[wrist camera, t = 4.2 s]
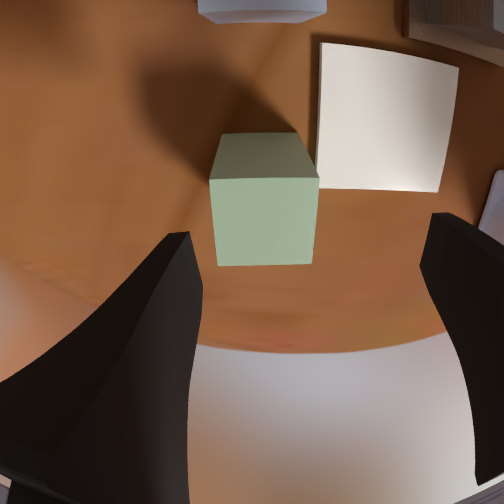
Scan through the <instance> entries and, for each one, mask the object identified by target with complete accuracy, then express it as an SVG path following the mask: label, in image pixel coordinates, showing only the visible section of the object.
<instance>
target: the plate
mask: <svg viewBox="0 0 504 504" xmlns="http://www.w3.org/2000/svg"><path fill="white" fill-rule="evenodd" d="M458 73H459V68H458V67H455V66H451V65H447V64H444V63H440V62H436V61H432V60H428V59H424V58H420V57H415V56H411V55H406V54H401V53H396V52H390V51H385V50H379V49H372V48H365V47H358V46H350V45H341V44H331V43H320V57H319V94H318V119H317V139H316V156H315V169H316V171H317V173H318V175H319V177H320V181H319V188H340V189H377V190H401V191H420V192H437V193H438V189H439V185H440V180H441V176H442V172H443V167H444V163H445V158H446V153H447V148H448V143H449V137H450V132H451V126H452V120H453V113H454V107H455V99H456V91H457V83H458Z"/></svg>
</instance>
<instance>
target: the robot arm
mask: <svg viewBox="0 0 504 504" xmlns="http://www.w3.org/2000/svg"><path fill="white" fill-rule="evenodd" d="M420 269H421V272H422V275H423V278H424V281H425V283H426V286H427V289H428V292H429V294H430V296H431V298H432V300H433V302H434V304H435V306H436V309H437V311H438V313H439V315H440V317H441V319H442V321H443V323H444V325H445V327H446V329H447V332H448V334H449V336H450V338H451V340H452V342H453V345H454V347H455V349H456V352H457V355H458V357H459V360H460V363H461V367H462V371H463V374H464V378H465V382H466V386H467V390H468V395H469V400H470V405H471V411H472V418H473V426H474V436H475V477H476V481H477V485H478V486H480V485H482V484H484V483H486V482H488V481H490V480H492V479H494V478H496V477H498V476H500V475H502V474H504V170H498V171H497V172H496V173H495V175H494V179H493V182H492V186H491V189H490V193H489V196H488V199H487V202H486V205H485V208H484V211H483V214H482V217H481V220H480V223H479V226H478V228H476V227H475V226H473V225H471V224H470V223H468V222H466V221H465V220H463V219H461V218H459V217H457V216H455V215H453V214H451V213H448V212H446V213H432V217H431V221H430V226H429V230H428V235H427V239H426V243H425V247H424V251H423V255H422V258H421V262H420ZM202 295H203V284H202V280H201V276H200V272H199V268H198V264H197V260H196V256H195V252H194V248H193V244H192V240H191V236H190V232H189V231H187V232H177V233H169V234H168V235H167V236H166V237H165V238H164V239H163V240H162V241H161V242H160V243H159V244H158V245H157V246H156V247H155V248H154V249H153V250H152V252H151V253H150V254H149V255H148V256H147V257H146V258H145V259H144V260H143V262H142V263H141V264H140V265H139V266H138V267H137V268H136V269H135V270H134V271H133V273H132V274H131V275H130V276H129V277H128V278H127V279H126V280H125V281H124V282H123V283H122V284H121V285H120V286H119V287H118V288H117V289H116V290H115V291H114V292H113V294H112V295H111V296H110V297H109V298H108V299H107V300H106V301H105V302H104V303H103V304H102V305H101V306H100V307H99V308H98V309H97V310H96V311H94V313H92V314H91V315H90V316H89V317H88V318H87V319H86V320H85V321H83V322H82V323H81V324H80V325H79V326H78V327H77V328H76V329H74V330H73V331H72V332H71V333H70V334H68V335H67V336H66V337H64V338H63V339H62V340H61V341H59V342H58V343H57V344H56V345H54V346H53V347H52V348H51V349H49V350H48V351H47V352H46V353H44V354H43V355H41V356H40V357H39V358H37V359H36V360H34V361H33V362H32V363H30V364H29V365H27V366H26V367H24V368H23V369H21V370H20V371H18V372H17V373H15V374H14V375H12V376H10V377H9V378H8V379H6V380H4V381H2V382H0V474H1V475H3V476H5V477H7V478H8V479H11V480H12V481H11V486H10V488H8V487H6V486H4V485H2V484H0V504H190V501H189V489H188V466H187V465H188V464H187V419H188V396H189V385H190V379H191V372H192V367H193V361H194V355H195V349H196V344H197V338H198V332H199V327H200V321H201V313H202ZM454 504H504V480H503V481H501V482H499V483H497V484H496V485H493V486H491V487H489V488H487V489H485V490H483V491H481V492H479V493H477V494H475V495H473V496H471V497H468V498H466V499H463V500H461V501H459V502H456V503H454Z"/></svg>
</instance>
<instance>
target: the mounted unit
mask: <svg viewBox="0 0 504 504" xmlns="http://www.w3.org/2000/svg"><path fill="white" fill-rule="evenodd" d="M402 37H405V38H410V39H414V40H418V41H422V42H426V43H430V44H434V45H437V46H441V47H444V48H448V49H451V50H454V51H457V52H461V53H464V54H467V55H470V56H472V57H475V58H478V59H481V60H484V61H486V62H489V63H492V64H494V65H497V66H500V67H504V0H403V30H402Z"/></svg>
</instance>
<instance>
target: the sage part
mask: <svg viewBox="0 0 504 504" xmlns="http://www.w3.org/2000/svg"><path fill="white" fill-rule="evenodd" d="M319 181H320V177H319V175H318V173H317V171H316V169H315V167H314V164H313V162H312V160H311V158H310V156H309V154H308V152H307V150H306V148H305V146H304V144H303V142H302V140H301V138H300V136H299V134H298V133H232V134H222V136H221V139H220V143H219V146H218V150H217V153H216V156H215V160H214V164H213V167H212V171H211V174H210V178H209V185H210V195H211V206H212V216H213V225H214V235H215V244H216V253H217V262H218V266H241V265H286V264H311V263H312V254H313V245H314V236H315V226H316V215H317V205H318V193H319Z"/></svg>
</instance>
